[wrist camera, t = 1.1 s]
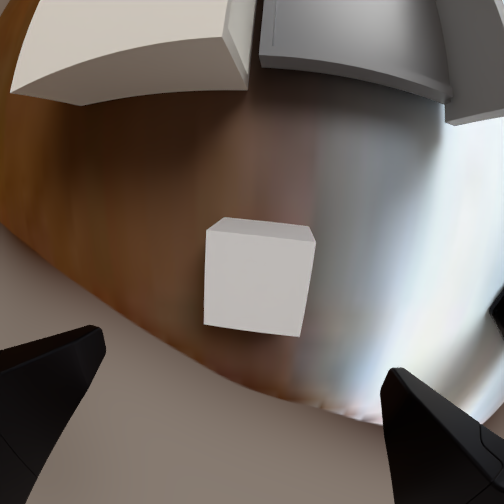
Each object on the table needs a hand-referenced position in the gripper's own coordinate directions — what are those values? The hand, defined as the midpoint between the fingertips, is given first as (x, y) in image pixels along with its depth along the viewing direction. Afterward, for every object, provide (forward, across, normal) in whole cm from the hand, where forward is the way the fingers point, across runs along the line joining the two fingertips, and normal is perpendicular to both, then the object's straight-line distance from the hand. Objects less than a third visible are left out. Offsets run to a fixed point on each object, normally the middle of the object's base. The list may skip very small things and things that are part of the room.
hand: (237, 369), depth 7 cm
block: (+10, 0, 0) cm, 10 cm away
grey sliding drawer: (+9, -5, -17) cm, 20 cm away
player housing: (+10, +8, -17) cm, 21 cm away
